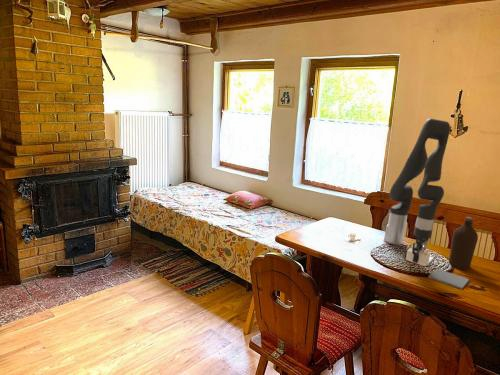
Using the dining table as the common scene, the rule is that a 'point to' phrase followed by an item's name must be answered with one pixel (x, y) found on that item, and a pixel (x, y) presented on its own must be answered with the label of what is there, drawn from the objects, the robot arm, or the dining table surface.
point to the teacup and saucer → (353, 238)
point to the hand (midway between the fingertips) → (417, 260)
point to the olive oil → (463, 245)
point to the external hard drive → (430, 260)
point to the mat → (449, 278)
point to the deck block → (422, 259)
